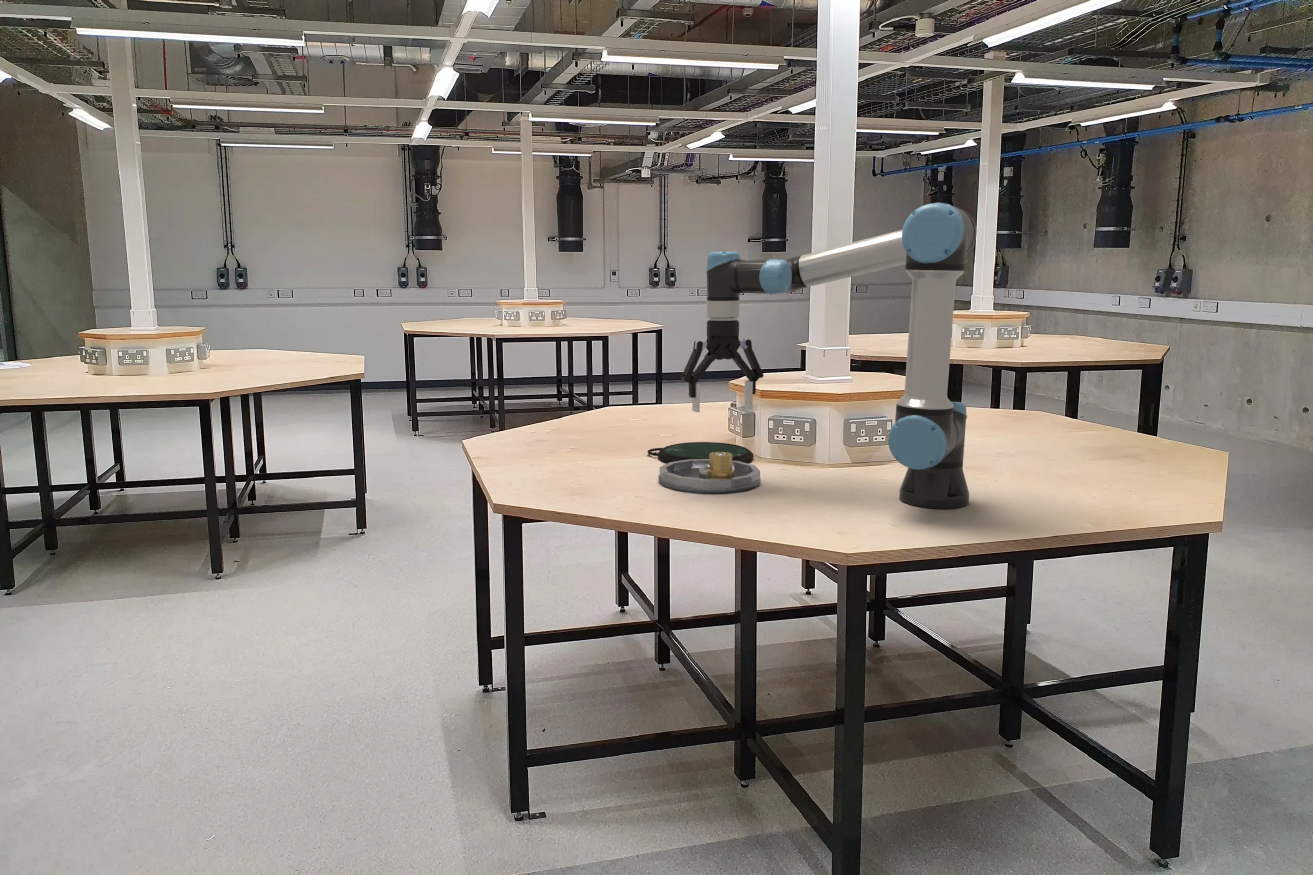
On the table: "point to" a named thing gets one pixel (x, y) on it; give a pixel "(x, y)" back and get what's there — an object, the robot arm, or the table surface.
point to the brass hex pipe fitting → (720, 466)
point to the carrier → (694, 477)
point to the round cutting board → (700, 451)
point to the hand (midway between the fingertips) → (722, 409)
